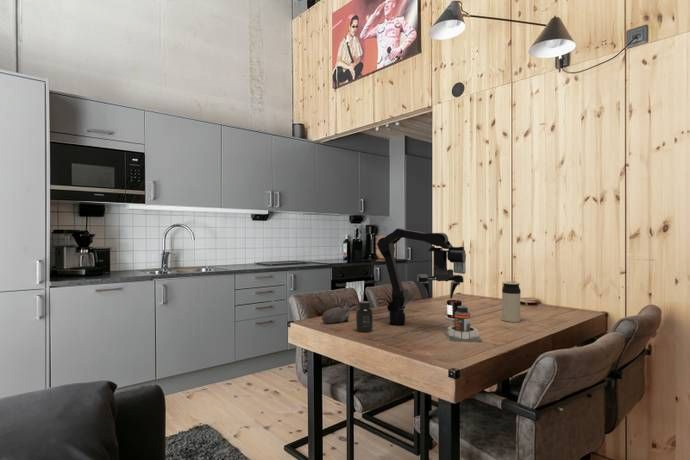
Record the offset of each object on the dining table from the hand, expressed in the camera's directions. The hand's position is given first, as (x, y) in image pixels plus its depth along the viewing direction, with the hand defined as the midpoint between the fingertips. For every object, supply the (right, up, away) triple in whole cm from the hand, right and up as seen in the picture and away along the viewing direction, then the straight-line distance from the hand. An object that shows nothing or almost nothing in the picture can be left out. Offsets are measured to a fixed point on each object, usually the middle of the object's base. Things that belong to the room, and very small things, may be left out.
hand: (439, 298), depth 176 cm
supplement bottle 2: (+6, -13, -13) cm, 19 cm away
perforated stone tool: (-45, -13, +12) cm, 48 cm away
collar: (+6, -13, -14) cm, 20 cm away
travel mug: (+37, -13, +17) cm, 43 cm away
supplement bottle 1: (-32, -13, -3) cm, 35 cm away
